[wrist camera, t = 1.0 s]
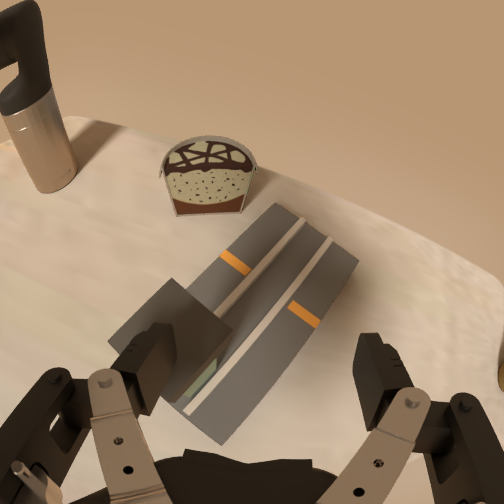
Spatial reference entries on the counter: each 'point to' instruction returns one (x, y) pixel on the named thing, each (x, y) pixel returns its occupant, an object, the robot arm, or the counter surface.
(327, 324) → the counter surface
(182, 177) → the food container
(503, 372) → the squeeze bottle
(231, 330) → the fader tab
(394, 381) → the robot arm
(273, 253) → the slider console
